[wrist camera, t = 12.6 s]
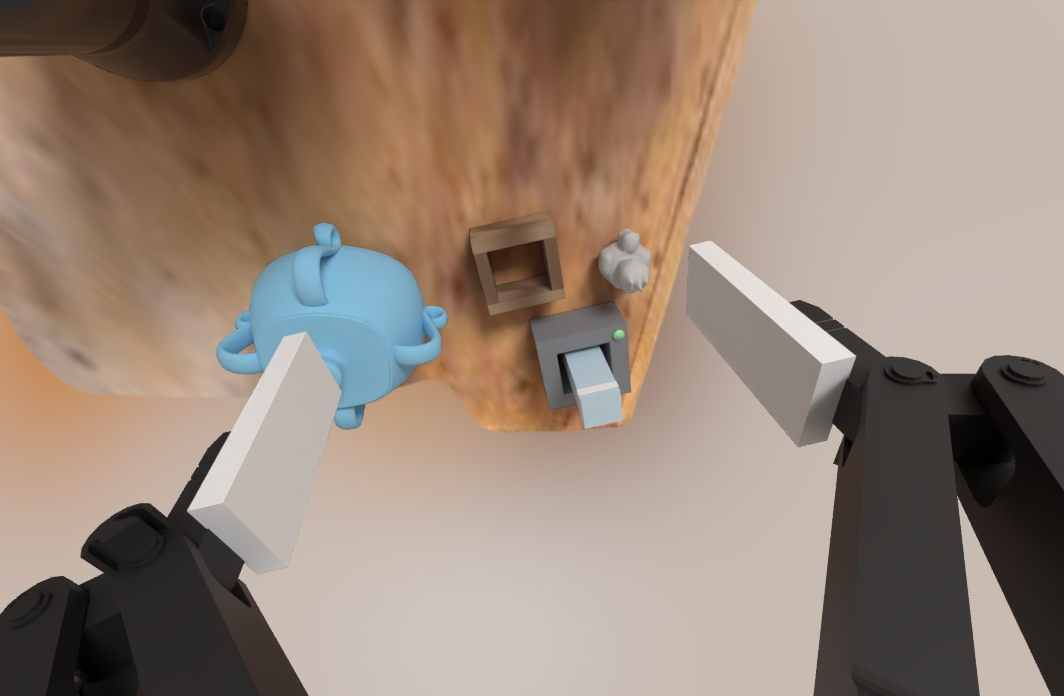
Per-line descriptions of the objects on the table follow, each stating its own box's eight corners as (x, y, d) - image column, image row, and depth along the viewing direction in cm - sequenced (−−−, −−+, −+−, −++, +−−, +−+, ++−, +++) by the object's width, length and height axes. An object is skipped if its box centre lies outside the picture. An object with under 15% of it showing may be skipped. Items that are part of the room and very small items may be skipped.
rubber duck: (591, 280, 49) (611, 315, 43) (596, 222, 46) (619, 251, 39) (638, 277, 50) (664, 312, 43) (646, 220, 46) (677, 248, 40)
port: (543, 384, 57) (550, 412, 53) (529, 319, 51) (536, 344, 47) (618, 367, 57) (631, 393, 53) (613, 301, 51) (627, 324, 47)
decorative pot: (358, 385, 53) (332, 475, 42) (234, 294, 45) (160, 376, 34) (461, 309, 49) (462, 385, 38) (346, 193, 41) (304, 248, 30)
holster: (488, 297, 49) (490, 315, 46) (469, 228, 44) (470, 242, 41) (558, 281, 49) (565, 298, 46) (547, 211, 44) (554, 224, 41)
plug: (557, 334, 53) (580, 400, 43) (591, 327, 53) (620, 390, 43) (562, 361, 55) (584, 429, 45) (594, 354, 55) (623, 420, 45)
